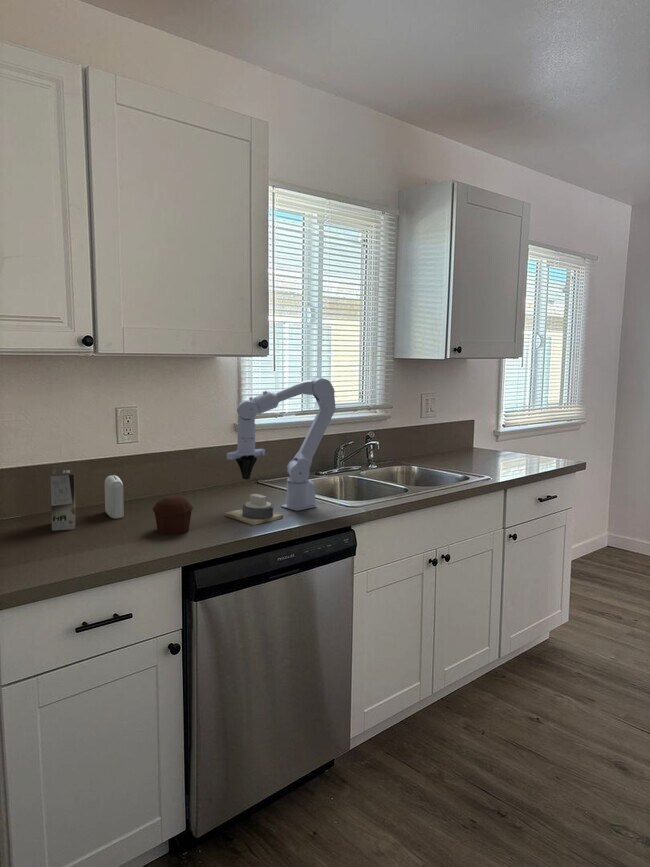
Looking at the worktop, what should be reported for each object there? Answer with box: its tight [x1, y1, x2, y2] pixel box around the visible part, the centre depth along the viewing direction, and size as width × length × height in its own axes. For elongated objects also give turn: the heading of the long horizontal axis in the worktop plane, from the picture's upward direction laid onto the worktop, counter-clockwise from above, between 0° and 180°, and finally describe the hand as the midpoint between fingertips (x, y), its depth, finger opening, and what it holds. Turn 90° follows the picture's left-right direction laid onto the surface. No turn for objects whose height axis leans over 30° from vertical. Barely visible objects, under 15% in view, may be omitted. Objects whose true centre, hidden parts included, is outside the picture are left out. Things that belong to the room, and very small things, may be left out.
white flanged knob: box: [244, 493, 272, 509], centre depth 204 cm, size 8×8×5 cm
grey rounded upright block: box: [104, 474, 125, 519], centre depth 204 cm, size 10×4×12 cm, turn 29°
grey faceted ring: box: [242, 503, 274, 519], centre depth 205 cm, size 9×9×3 cm
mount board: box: [224, 508, 284, 526], centre depth 206 cm, size 12×14×1 cm
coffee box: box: [49, 468, 76, 532], centre depth 190 cm, size 9×6×16 cm
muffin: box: [152, 494, 194, 536], centre depth 189 cm, size 12×11×10 cm
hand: (245, 478), depth 215 cm, fingers closed
